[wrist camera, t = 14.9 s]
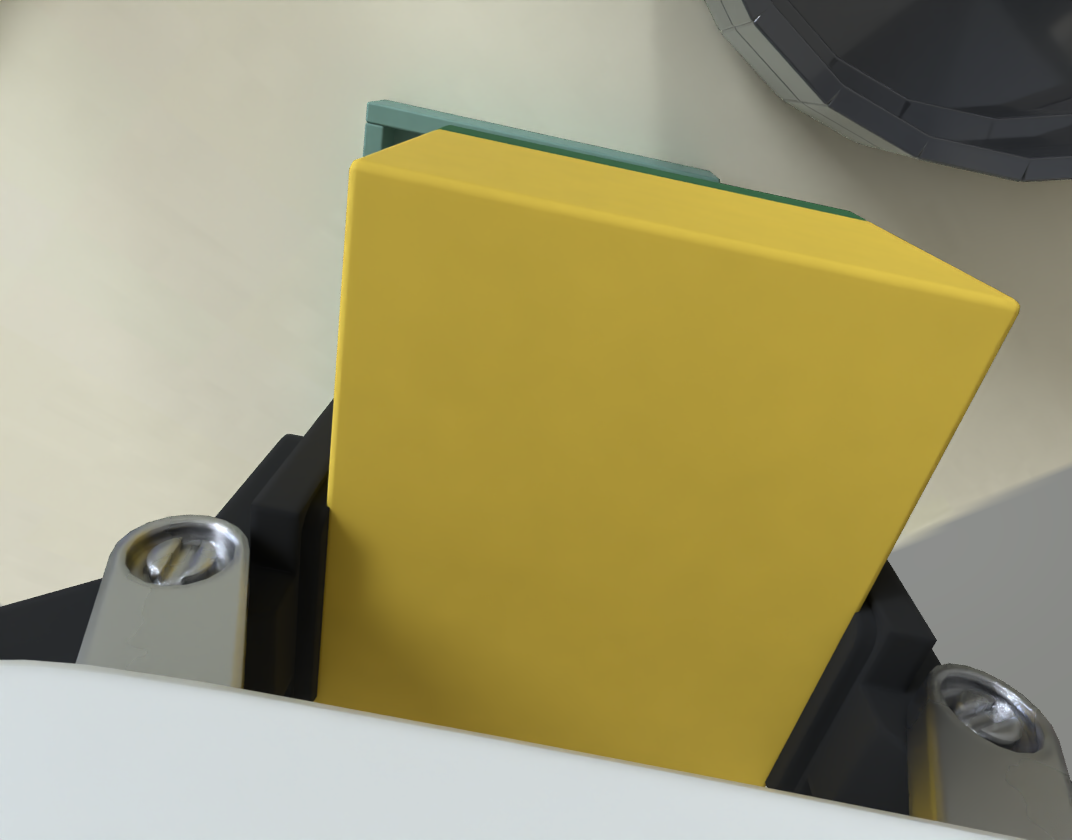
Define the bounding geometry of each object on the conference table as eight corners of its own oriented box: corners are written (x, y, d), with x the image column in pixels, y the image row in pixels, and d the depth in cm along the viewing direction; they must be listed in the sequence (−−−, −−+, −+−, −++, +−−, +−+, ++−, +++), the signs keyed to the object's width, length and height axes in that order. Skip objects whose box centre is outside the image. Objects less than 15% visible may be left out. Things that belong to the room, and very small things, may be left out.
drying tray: (383, 98, 23) (366, 101, 21) (710, 171, 23) (721, 179, 22) (350, 479, 30) (334, 505, 28) (603, 531, 30) (604, 560, 28)
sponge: (445, 122, 10) (346, 157, 6) (853, 210, 10) (1029, 303, 6) (385, 601, 14) (304, 815, 10) (677, 658, 14) (712, 891, 10)
